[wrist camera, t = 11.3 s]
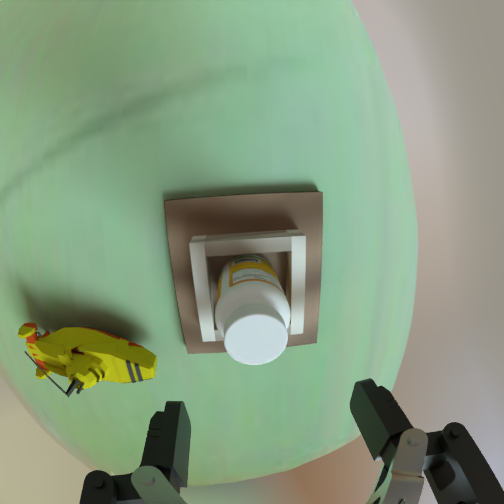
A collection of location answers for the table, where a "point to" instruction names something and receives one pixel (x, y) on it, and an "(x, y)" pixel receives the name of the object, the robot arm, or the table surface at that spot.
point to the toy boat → (87, 356)
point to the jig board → (245, 243)
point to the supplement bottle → (251, 310)
